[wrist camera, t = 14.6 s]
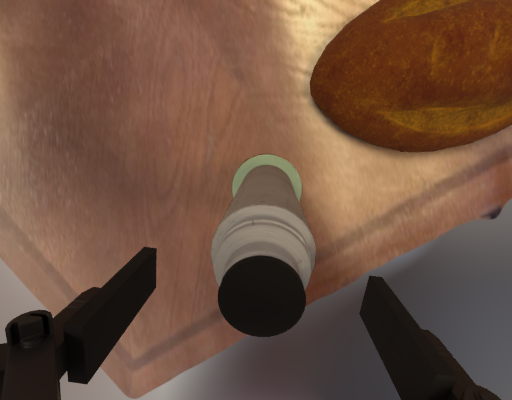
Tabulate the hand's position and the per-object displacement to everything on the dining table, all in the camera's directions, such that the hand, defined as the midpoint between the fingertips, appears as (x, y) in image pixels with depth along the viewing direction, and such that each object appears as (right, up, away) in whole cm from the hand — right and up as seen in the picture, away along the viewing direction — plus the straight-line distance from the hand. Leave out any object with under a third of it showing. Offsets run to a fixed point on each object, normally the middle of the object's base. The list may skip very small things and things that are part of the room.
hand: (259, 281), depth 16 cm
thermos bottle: (+1, +7, +25) cm, 26 cm away
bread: (+24, +23, +21) cm, 39 cm away
